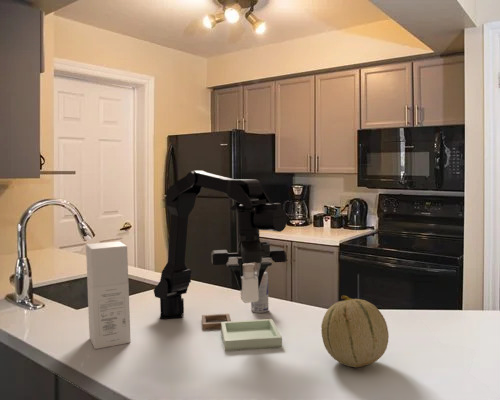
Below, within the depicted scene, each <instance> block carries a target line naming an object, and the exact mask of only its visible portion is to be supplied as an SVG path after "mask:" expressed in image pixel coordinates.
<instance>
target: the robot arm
mask: <svg viewBox="0 0 500 400" xmlns="http://www.w3.org/2000/svg"><path fill="white" fill-rule="evenodd" d="M203 188H205V189H209V190H212V191H214V192H219V193H223V194H225V195H226V196H227V197H228V198H229V199H230V200H232V201H234V204H233V205H232V206H231V207H230V208H229V210H230V211H233V212H236V250H237V251H236V252H228V250H227V249H217V250H216V249H215V250H212V251H211V254H210V255H211V264H212V265H213V266H222V265H223V266H224V265H226V266H227V268H231V269H232V271H233V273H234V277H235V279H236V281H237V285H238V288H239V290H242V283H241V277H242V276H241V271H240V264H239V261H241V262H242V263H243V264H245V263H246V264H247V263H253V264H254V263H256V265H257V266H256V271H257V278H258V289H259V287H260V283H261V280H262V277H263V274H264V272H265V271H266V270H267V268H268V267H270V266H271V267H272V265H273V262H274V263H286V262H288V260H287V252H286V251H285V250H284V249H283V248H281V247H271V245H270V242H269V241H261V239H260V231H267V232H276V233H278V232H280V233H281V232H282V231H284V230H285V229H286V226H287V224H288V216H287V213H286V211H285V210H284V209H283V207H282V203H280V202H275V203H272V202H271V200H270V199H269V196H268V195H267V194H266V192H265V191H264V189H263V186H262V183H261V181H260V180H258V179H255V178H254V179H252V178H251V179H250V178H249V179H247V178H245V179H244V178H243V179H242V178H241V179H239V178H238V179H237V178H235V179H234V178H232V177H231V178H230V177H226V176H222V175H219V174H214V173H210V172H207V171H204V170H192V171H189V172H188V173H186V175H185V176H183V177H182V178H180V179H178V180H177V181H175V182H174V183H173V184H171V185H169V187H168V188H167V189H166V193H165V200H166V201H165V203H166V204H165V205H166V207H167V209H168V211H169V213H170V226H169V240H168V252H167V253H168V256H167V263H166V264H165V266H164V268H163V269H162V271H161V275H160V279H159V282H158V283H157V285H156V286H155V288H154V289H153V294H154V298H158V299H159V305H160V306H159V307H160V308H159V309H160V315H159V319H161V320H162V319H163V320H164V319H180V318H183V315H184V314H185V305H184V304H185V303H184V302H185V299H184V298H183V296H182V295H185V294H187V291H188V288H189V286H190V283H192V280H191V276H192V270H191V269H190V268H188V267H187V264H186V252H187V251H186V250H187V239H188V237H187V236H188V224H189V223H188V222H189V215H190V214H191V213H192V210H193V209H194V207H195V205H196V199H197V197H198V196H199V195H200V194H201V193H202V192H203ZM272 261H273V262H272Z"/></svg>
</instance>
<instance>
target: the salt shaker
mask: <svg viewBox="0 0 500 400" xmlns="http://www.w3.org/2000/svg"><path fill="white" fill-rule="evenodd" d="M255 271H256V265H255V263H254V262H253V263H247V264H246V263H243V264H242V276H241V283H242V290H240V289H239V290H240V300H241V301H242V302H243V303H244V304H248V303H250V304H251V302H257V301H258V300H259V296H258V278H257V277H256V276H255Z"/></svg>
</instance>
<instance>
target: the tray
mask: <svg viewBox="0 0 500 400" xmlns="http://www.w3.org/2000/svg"><path fill="white" fill-rule="evenodd" d="M220 322H221V330H220V331H221V337H222V343H223V348H224V351H225V352H233V351H234V352H235V351H247V350H262V349H278V348H279V349H280V348H283V336H282V335H281V333H280V331H279V330H278V327H277V325H276V324H275V322H274V320H273V319H272V318H269V319H267V318H266V319H264V318H263V319H250V320H249V319H247V320H233V321H232V320H231V321H230V322H227V321H220Z"/></svg>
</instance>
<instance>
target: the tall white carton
mask: <svg viewBox="0 0 500 400" xmlns="http://www.w3.org/2000/svg"><path fill="white" fill-rule="evenodd" d="M85 253H86V278H87V279H86V282H87V285H86V286H87V309H88V310H87V311H88V330H89V331H88V332H89V334H88V336H89V339H90V342H91V343H92V346H93V348H94V349H95V350H97V349H98V350H99V349H104V348H109V347H110V348H111V347H115V346H120V345H124V344H130V343H131V317H130V313H131V311H130V288H129V287H130V286H129V285H130V284H129V265H128V264H129V263H128V261H129V260H128V245H126V244H124V243H123V242H121V241H110V242H109V241H108V242H98V243H96V242H95V243H87V244H85Z"/></svg>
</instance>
